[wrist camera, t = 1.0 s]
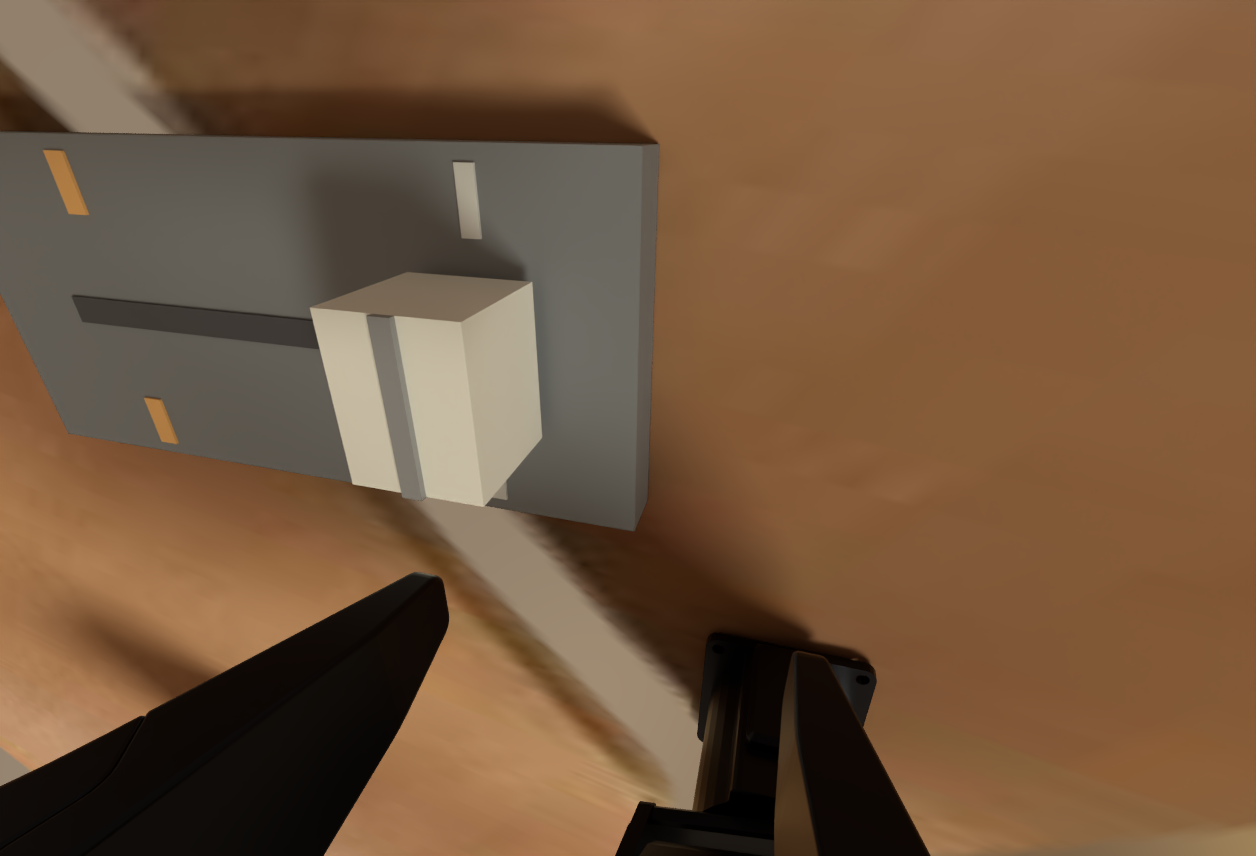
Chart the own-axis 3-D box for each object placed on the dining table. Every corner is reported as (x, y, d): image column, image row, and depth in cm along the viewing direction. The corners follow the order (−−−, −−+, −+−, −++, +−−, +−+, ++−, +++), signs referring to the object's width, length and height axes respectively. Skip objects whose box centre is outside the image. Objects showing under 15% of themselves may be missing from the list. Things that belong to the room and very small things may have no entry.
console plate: (647, 499, 22) (633, 533, 20) (114, 414, 28) (66, 434, 26) (659, 144, 16) (641, 145, 14) (-11, 130, 22) (-83, 130, 20)
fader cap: (542, 437, 19) (480, 511, 15) (431, 421, 20) (347, 487, 16) (532, 281, 16) (456, 324, 13) (407, 272, 17) (303, 309, 14)
